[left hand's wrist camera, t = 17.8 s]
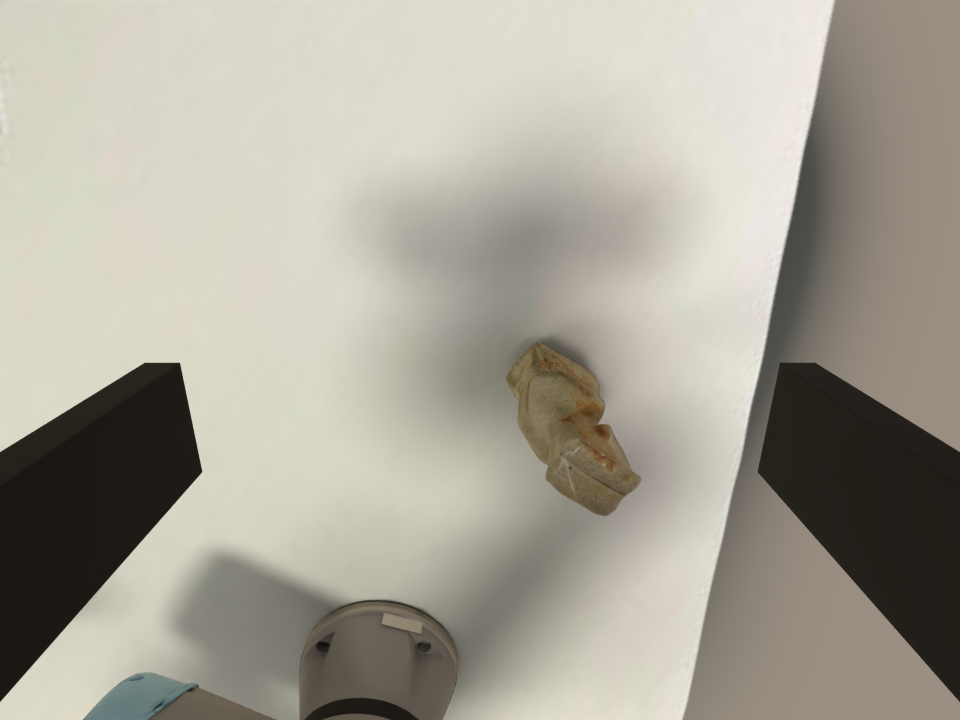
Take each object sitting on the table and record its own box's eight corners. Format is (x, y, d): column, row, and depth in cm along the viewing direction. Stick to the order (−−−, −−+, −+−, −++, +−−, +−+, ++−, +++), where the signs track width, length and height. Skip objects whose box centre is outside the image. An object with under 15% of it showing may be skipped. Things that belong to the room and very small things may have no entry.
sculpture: (558, 425, 46) (592, 544, 32) (492, 373, 44) (498, 475, 30) (607, 375, 44) (667, 478, 30) (541, 319, 42) (572, 401, 28)
